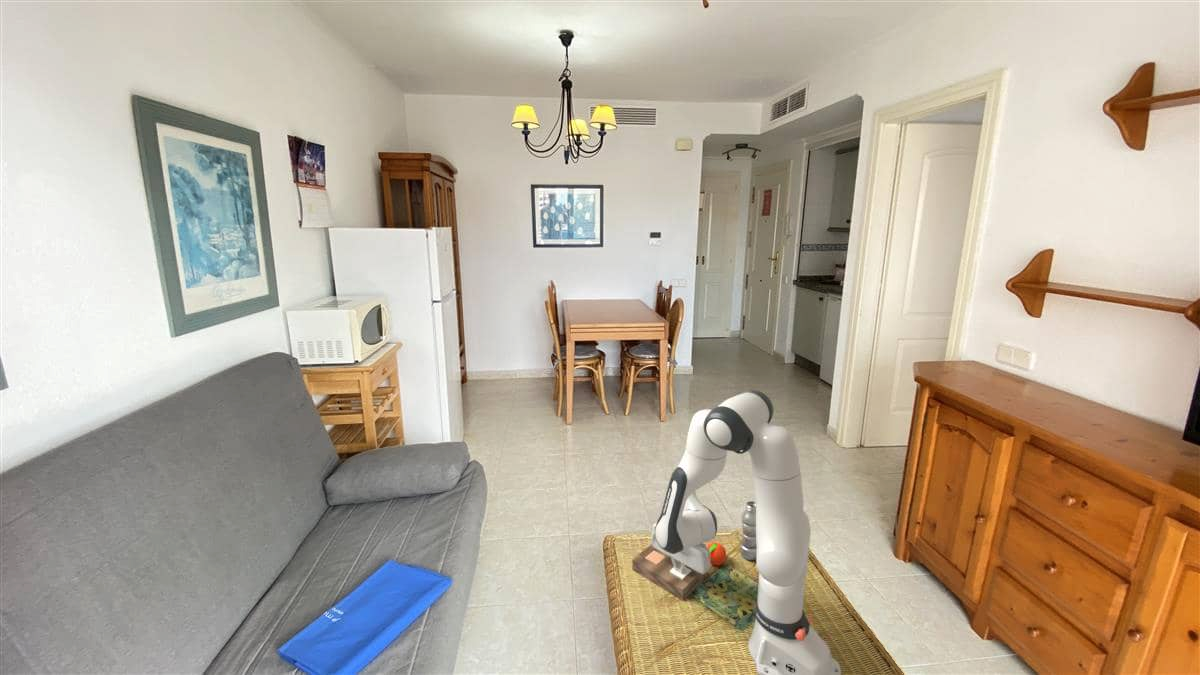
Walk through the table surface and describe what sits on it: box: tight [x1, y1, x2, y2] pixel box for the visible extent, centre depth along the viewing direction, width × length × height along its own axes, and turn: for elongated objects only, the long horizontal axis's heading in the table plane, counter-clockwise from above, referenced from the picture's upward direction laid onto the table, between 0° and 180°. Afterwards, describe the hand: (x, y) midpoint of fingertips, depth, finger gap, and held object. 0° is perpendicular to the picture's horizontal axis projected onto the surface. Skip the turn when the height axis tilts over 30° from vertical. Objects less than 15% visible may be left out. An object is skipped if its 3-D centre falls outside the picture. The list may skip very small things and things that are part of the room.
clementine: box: [706, 542, 727, 566], centre depth 160 cm, size 8×7×7 cm
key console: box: [631, 543, 705, 602], centre depth 156 cm, size 20×12×4 cm, turn 46°
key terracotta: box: [645, 550, 666, 565], centre depth 159 cm, size 5×5×3 cm
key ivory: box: [669, 567, 692, 580], centre depth 152 cm, size 5×5×3 cm
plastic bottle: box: [739, 500, 757, 561], centre depth 162 cm, size 6×7×20 cm
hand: (679, 570), depth 152 cm, fingers closed
